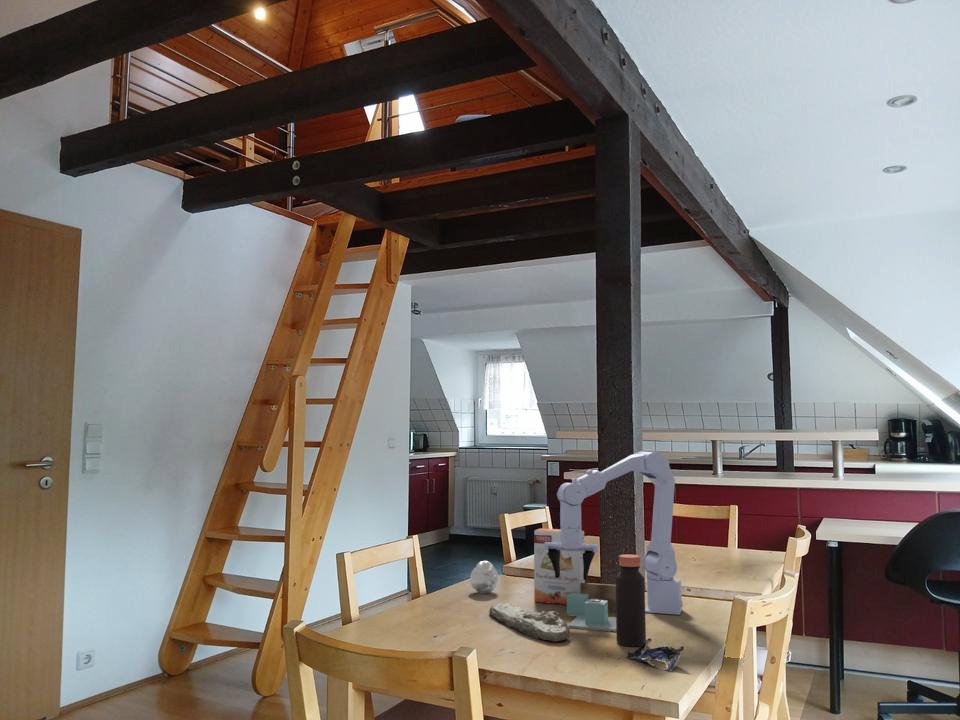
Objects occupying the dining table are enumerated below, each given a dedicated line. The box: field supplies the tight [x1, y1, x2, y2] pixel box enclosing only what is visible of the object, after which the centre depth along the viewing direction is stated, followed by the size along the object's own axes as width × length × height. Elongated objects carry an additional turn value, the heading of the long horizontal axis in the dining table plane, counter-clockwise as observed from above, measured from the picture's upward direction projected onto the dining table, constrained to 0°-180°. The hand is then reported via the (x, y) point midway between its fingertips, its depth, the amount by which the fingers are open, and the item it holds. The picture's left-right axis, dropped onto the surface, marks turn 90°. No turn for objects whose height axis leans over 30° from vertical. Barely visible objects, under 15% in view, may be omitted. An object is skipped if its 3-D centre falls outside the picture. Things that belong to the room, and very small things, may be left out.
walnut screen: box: [580, 582, 616, 613], centre depth 208 cm, size 13×4×7 cm, turn 70°
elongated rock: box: [488, 602, 570, 642], centre depth 190 cm, size 35×5×10 cm
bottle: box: [614, 553, 647, 648], centre depth 175 cm, size 7×7×20 cm
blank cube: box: [566, 593, 589, 617], centre depth 204 cm, size 5×5×5 cm
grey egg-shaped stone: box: [469, 560, 500, 594], centre depth 231 cm, size 9×10×10 cm
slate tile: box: [568, 615, 616, 633], centre depth 192 cm, size 12×12×1 cm
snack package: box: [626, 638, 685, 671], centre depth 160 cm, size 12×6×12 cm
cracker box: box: [533, 528, 586, 606], centre depth 218 cm, size 14×6×21 cm, turn 68°
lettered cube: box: [585, 599, 609, 625], centre depth 192 cm, size 5×5×5 cm
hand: (571, 578), depth 202 cm, fingers open, 7 cm apart
